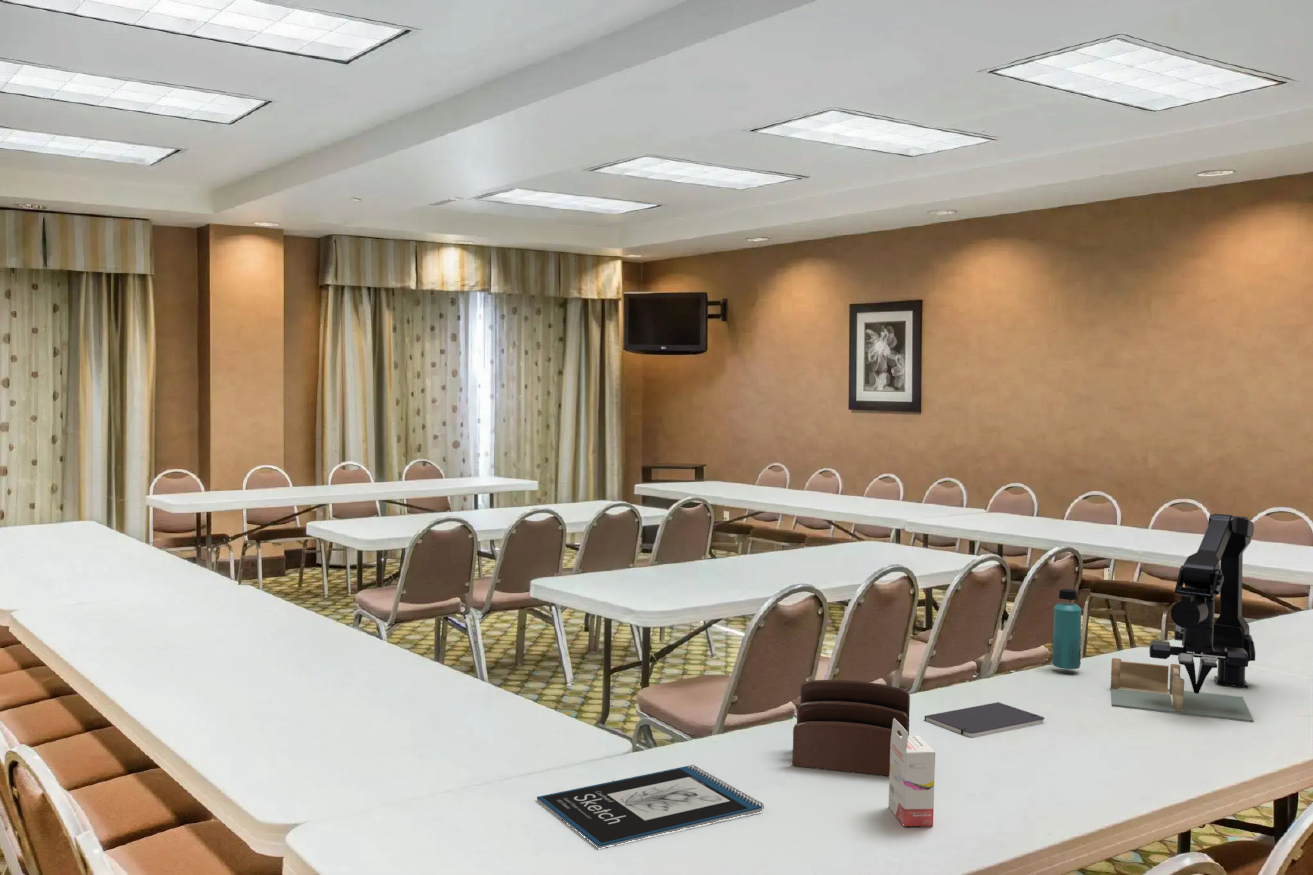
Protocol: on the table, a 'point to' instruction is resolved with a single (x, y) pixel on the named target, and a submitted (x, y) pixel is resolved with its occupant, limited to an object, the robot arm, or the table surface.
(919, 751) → the ink cartridge box
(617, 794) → the sketchbook
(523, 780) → the table surface
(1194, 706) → the board
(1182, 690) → the hinged panel
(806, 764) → the letter holder
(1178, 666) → the fixed fence
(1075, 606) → the beverage bottle
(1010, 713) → the notebook
